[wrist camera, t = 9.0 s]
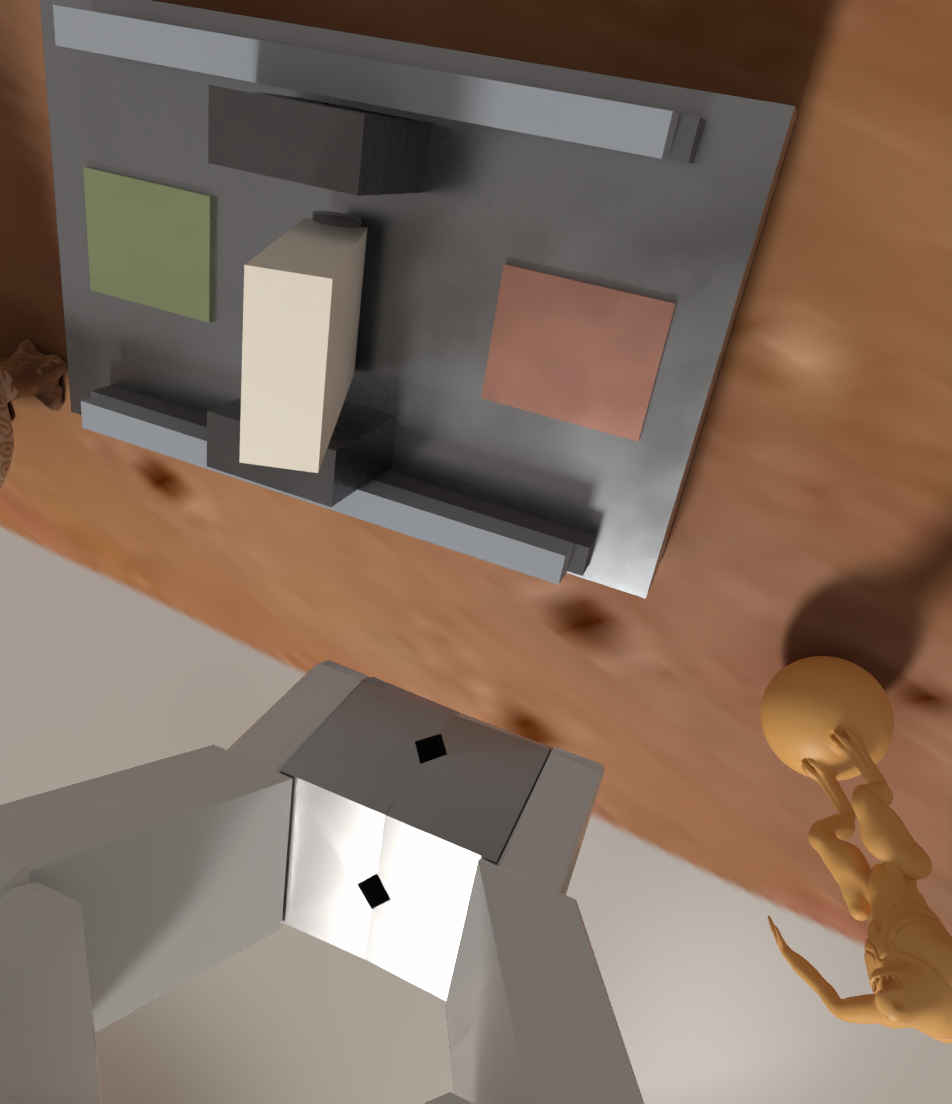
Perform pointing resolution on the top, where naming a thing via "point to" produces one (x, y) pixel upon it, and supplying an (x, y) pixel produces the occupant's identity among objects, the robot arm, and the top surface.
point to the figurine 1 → (26, 390)
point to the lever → (300, 340)
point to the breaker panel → (418, 270)
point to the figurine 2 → (888, 889)
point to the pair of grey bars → (414, 90)
